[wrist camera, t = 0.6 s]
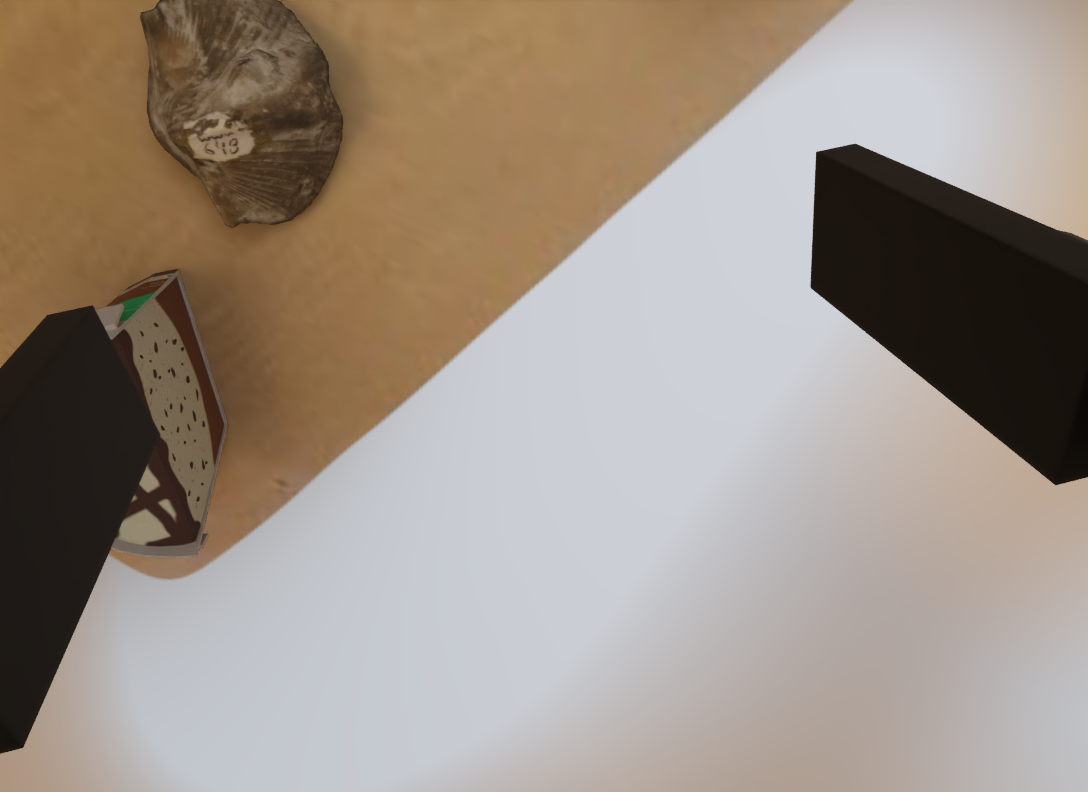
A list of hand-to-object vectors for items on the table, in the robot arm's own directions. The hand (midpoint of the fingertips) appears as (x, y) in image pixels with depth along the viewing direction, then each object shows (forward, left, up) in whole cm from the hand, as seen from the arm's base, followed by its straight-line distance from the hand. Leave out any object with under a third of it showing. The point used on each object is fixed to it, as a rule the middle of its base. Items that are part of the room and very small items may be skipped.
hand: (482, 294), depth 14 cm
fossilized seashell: (-1, -8, -26) cm, 27 cm away
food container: (+10, -18, -26) cm, 33 cm away
